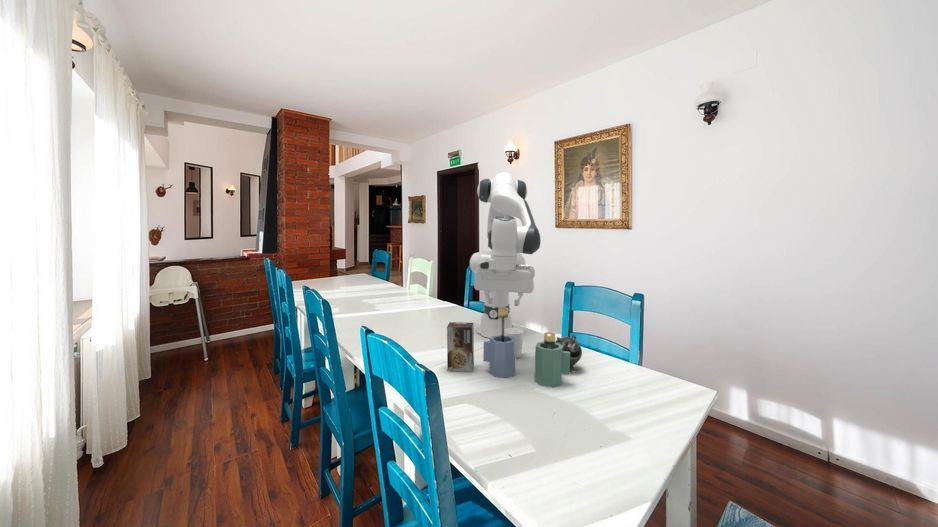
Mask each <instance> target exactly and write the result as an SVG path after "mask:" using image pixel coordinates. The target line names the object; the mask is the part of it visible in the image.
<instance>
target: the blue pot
mask: <svg viewBox="0 0 938 527" xmlns="http://www.w3.org/2000/svg"><path fill="white" fill-rule="evenodd" d="M515 353H516V339H515V338H513V337H511V336H505V335H504V342H501V335H498V336H492V337H491V338H489V340H484V341H483V362H486V363H489V364H488V366H489V368H488V373H489V374H490V376H491V375H492V376H493V377H496V378H502V379H505V378H506V379H507V378H510V377H514V375H515V373H516V358H515Z"/></svg>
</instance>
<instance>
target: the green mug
mask: <svg viewBox="0 0 938 527" xmlns="http://www.w3.org/2000/svg"><path fill="white" fill-rule="evenodd" d="M534 360H535V362H534V383H536V384H538V385H539V386H542V387H548V388H554V387H559V386H561V385H562V381H563V375H570V373H571V372H570V352H568V351H563V345H561V344H558V343H556V342H555V344H553V345H551V349H548V344H545V343H544V341H539V342H536V345H535V357H534Z"/></svg>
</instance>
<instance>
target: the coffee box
mask: <svg viewBox="0 0 938 527" xmlns="http://www.w3.org/2000/svg"><path fill="white" fill-rule="evenodd" d="M474 326H475V325H474V322H466V321H465V322H462V321H460V322H459V321H457V322H456V321H454V322H453V321H449V322H448V324H447V326H446V347H447V348H446V349H447V351H446V352H447V353H446V354H447V358H446V360H447V361H446V362H447V368H446V369H447V371H448V372H469V373H470V372H471V373H472V372H474V368H475V364H474V362H475V360H474V359H475V357H474V354H475V352H474V351H475V350H474V346H475V345H474V344H475V341H474V340H475V339H474V329H475V328H474Z"/></svg>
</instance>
